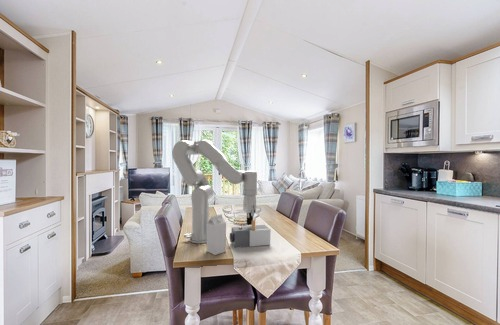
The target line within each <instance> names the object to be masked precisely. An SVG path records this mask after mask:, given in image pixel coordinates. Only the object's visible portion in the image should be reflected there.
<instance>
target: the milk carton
mask: <svg viewBox="0 0 500 325" xmlns="http://www.w3.org/2000/svg"><path fill="white" fill-rule="evenodd" d="M226 238H227V223H226V221H225V219H224V217H223V213H221V214H217V215H212V216H211V215H210V218H209V221H208V222H207V242H206V252H208V253H210V254H212V255H213V256H216V255H219V254H223V253H225V252H227V248H226V247H227V239H226Z"/></svg>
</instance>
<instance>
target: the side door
mask: <svg viewBox="0 0 500 325" xmlns="http://www.w3.org/2000/svg"><path fill="white" fill-rule="evenodd" d="M251 226H252V230H250V233H249V246H248V247H250V248H251V247H258V246H269V245H271V228H270V229H258V230H255V226H256V219H253V220H252V225H251Z"/></svg>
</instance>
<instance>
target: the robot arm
mask: <svg viewBox="0 0 500 325" xmlns="http://www.w3.org/2000/svg"><path fill="white" fill-rule="evenodd" d="M189 155H190V156H191V155H192V156H193V155H202V157H204V158H205V159H206V161H208V162H209V163H210V164H211V165H213V167H215V169H216V170H217V171H218V173H219V174H220V175H221V176H222V177H223V178H224V179H226V180H227V182H229V183H230V184H232V185H238V184H240V183H243V203H242V212H243V211H244V213H245V214H246V226H252V220H254V216H255V214H256V213H257V197H256V196H257V195H258V188H257V187H258V172H257V171H256V170H240V169H236V168H235V167H234V166H232V164H231V163H229V161H228V160H227V158H226V156H225V154H224V153H222V152H221V150H219V149H218V148H217V147H216V146H215V144H214V143H213V141H212V140H209V139H201V140H187V139H186V140H185V139H181V140H178V141H177V142H176V143H175V144H174V146H173V147H172V155H171V156H172V160H173V162H174V163H175V165H176V167H177V168H178V171H179V173H180V176H181V177H182V178H183V180H184V183H185V184H186V185H187V186H190V187H193V188H194V189H192V192H191V195H190V199H191V205H192V206H191V208H192V212H191V213H192V214H191V215H192V222H191V223H192V226H191V227H192V229H191V232H190V233H184V234H183V238H184V239H189V242H190V243H193V244H205V243H206V244H207V222H208V221H209V220H210V207H209V200H210V199H211V198H212V197H213V193H214V191H213V188H212V186H211V183H210V181H208V177H207V176H206V175H205V173H204V172H203V171H202V170H200V169H198V168H197V169H196V167H195V166H194V164H193V162H192V160H191V159H190V158H189Z"/></svg>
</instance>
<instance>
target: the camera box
mask: <svg viewBox="0 0 500 325" xmlns="http://www.w3.org/2000/svg"><path fill="white" fill-rule="evenodd" d="M258 229H271V228H270V227H268V226H267V225H265V224H259V225H256V224H255V230H258ZM250 230H252V225H246V226H233V227H231V230H230V231H231V232H230V233H229V242H230V243H231V245H232V246H233V247H234V248H235V249H236V248H244V247H245V248H246V247H250V246H249V233H250Z"/></svg>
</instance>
